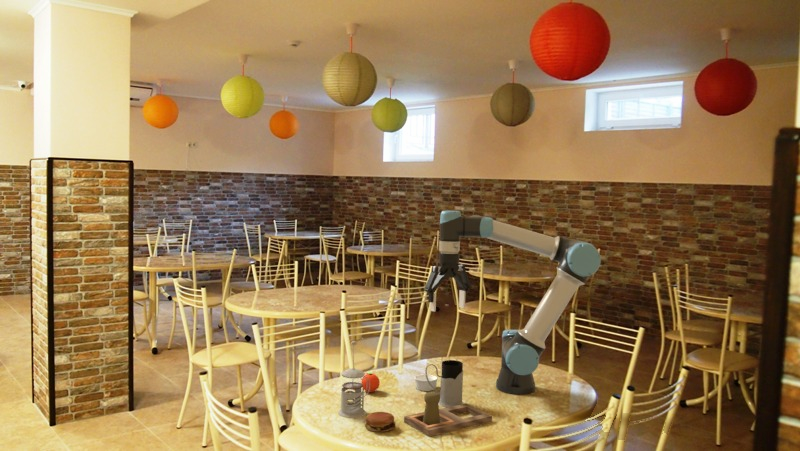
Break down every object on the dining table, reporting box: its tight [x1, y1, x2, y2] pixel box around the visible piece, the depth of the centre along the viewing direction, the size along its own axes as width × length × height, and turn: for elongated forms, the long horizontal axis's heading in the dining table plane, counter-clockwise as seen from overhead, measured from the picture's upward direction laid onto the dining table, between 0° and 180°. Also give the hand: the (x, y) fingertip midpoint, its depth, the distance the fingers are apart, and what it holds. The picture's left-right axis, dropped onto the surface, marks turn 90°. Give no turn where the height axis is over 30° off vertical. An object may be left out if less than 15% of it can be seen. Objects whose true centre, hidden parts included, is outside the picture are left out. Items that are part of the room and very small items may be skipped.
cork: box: [423, 391, 440, 425], centre depth 211 cm, size 6×6×11 cm
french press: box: [337, 340, 370, 419], centre depth 221 cm, size 10×12×25 cm
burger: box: [364, 411, 396, 433], centre depth 208 cm, size 10×9×5 cm
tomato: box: [360, 372, 380, 393], centre depth 245 cm, size 8×7×7 cm
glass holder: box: [425, 359, 464, 408], centre depth 234 cm, size 9×14×15 cm, turn 73°
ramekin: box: [413, 373, 438, 392], centre depth 250 cm, size 9×9×4 cm
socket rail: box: [403, 403, 493, 437], centre depth 215 cm, size 26×14×2 cm, turn 123°
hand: (447, 309), depth 240 cm, fingers open, 13 cm apart
